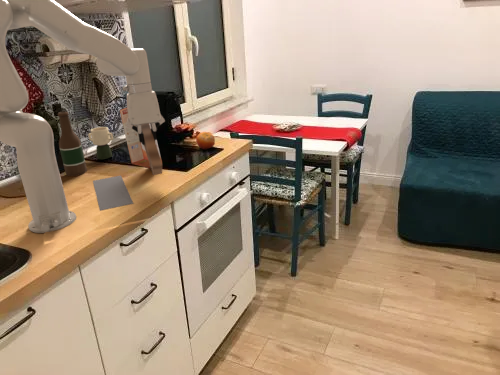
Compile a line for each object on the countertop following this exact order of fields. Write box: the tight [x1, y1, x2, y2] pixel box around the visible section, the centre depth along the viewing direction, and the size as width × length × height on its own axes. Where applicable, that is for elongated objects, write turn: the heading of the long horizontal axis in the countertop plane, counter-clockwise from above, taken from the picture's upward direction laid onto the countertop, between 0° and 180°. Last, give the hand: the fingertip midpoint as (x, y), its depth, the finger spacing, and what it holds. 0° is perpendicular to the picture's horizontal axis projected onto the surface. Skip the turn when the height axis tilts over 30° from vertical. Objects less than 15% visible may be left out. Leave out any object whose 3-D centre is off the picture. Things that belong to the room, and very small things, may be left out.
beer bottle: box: [57, 111, 88, 177], centre depth 156 cm, size 8×8×24 cm
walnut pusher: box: [141, 124, 163, 176], centre depth 141 cm, size 25×7×5 cm
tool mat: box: [92, 175, 135, 212], centre depth 139 cm, size 30×10×1 cm, turn 24°
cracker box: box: [119, 107, 163, 169], centre depth 155 cm, size 14×6×21 cm
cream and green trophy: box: [87, 126, 114, 160], centre depth 175 cm, size 11×7×13 cm, turn 81°
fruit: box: [195, 131, 216, 150], centre depth 182 cm, size 8×8×8 cm
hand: (148, 142), depth 141 cm, fingers closed on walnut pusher, 3 cm apart
